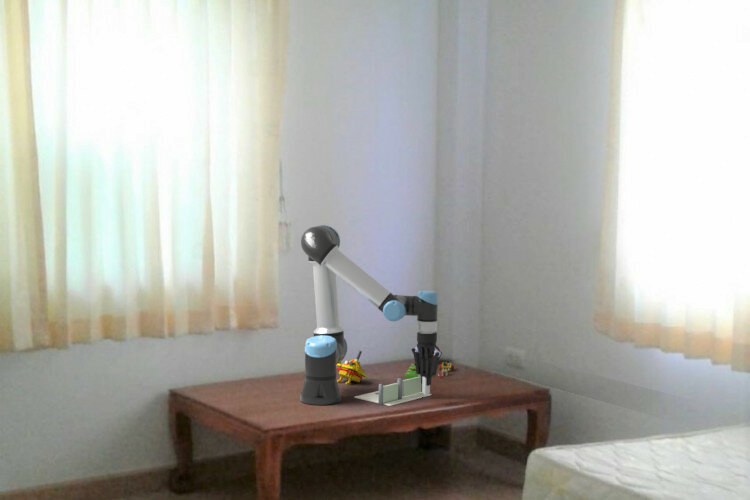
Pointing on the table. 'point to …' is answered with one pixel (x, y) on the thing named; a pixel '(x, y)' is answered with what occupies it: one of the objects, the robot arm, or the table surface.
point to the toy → (351, 370)
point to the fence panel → (411, 386)
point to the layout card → (375, 398)
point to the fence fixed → (390, 391)
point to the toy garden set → (444, 367)
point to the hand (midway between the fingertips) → (425, 393)
